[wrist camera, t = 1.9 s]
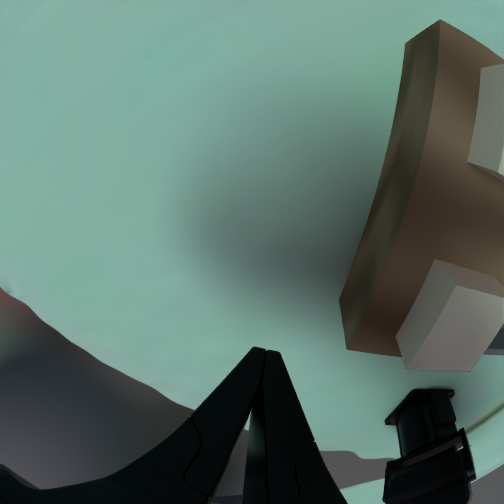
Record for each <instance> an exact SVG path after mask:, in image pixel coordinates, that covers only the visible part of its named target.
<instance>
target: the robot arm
mask: <svg viewBox="0 0 504 504" xmlns="http://www.w3.org/2000/svg"><path fill="white" fill-rule="evenodd" d="M454 395H455V392H454V390H414V391H412V392H411V393H410V394H409V395H408V396H407V397H406V398H405V400H404V401H403V402H402V403H401V404H400V405H399V406H398V407H397V409H396V410H395V411H394V412H393V413H392V414H391V415H390V416H389V417H388V418H387V419H386V420H385V425H396V428H397V434H398V440H399V447H400V454H401V458H398V459H396V460H393V461H392V460H391V461H388V462H387V467H386V470H385V483H384V493H383V498H382V500H383V502H384V503H385V504H469V503H470V501H471V499H472V490H471V483H470V482H471V481H473V480H475V479H476V473H475V467H474V462H473V457H472V453H471V449H470V445H469V442H468V438H467V435H466V433H465V430H464V427H463V428H461V429H460V430H459V431H457V428H456V425H455V422H456V416H455V413H454V410H453V407H452V404H451V401H450V399H451V398H452V397H453V396H454ZM250 412H251V415H250V425H249V435H248V445H247V455H246V465H245V476H244V485H243V494H242V503H241V504H348V503H347V502H346V500H345V498H344V497H343V495H342V493H341V492H340V490H339V488H338V487H337V485H336V483H335V482H334V480H333V478H332V476H331V474H330V473H329V471H328V469H327V467H326V465H325V463H324V461H323V458H322V456H321V454H320V452H319V449H318V447H317V444H316V442H314V440H315V439H314V437H313V434H312V432H311V429H310V427H309V424H308V422H307V419H306V417H305V414H304V412H303V409H302V407H301V404H300V402H299V399H298V397H297V394H296V392H295V389H294V387H293V384H292V382H291V379H290V376H289V374H288V371H287V369H286V366H285V364H284V361H283V359H282V356H281V354H280V352H278V351H273V350H267V351H266V349H264V348H259V347H252V348H251V350H250V351H249V352H248V353H247V354H246V355H245V356H244V358H243V359H242V360H241V361H240V362H239V363H238V364H237V365H236V367H235V368H234V369H233V370H232V371H231V372H230V373H229V374H228V375H227V377H226V378H225V379H224V380H223V381H222V382H221V383H220V384H219V385H218V386H217V387H216V389H215V390H214V391H213V392H212V393H211V394H210V395H209V396H208V397H207V398H206V399H205V400H204V401H203V402H202V403H201V405H200V406H199V407H198V408H197V409H196V410H195V411H194V412H193V413H192V414H191V415H190V416H189V417H188V418H187V419H186V420H185V421H184V422H183V423H182V424H181V425H180V426H179V427H178V428H177V429H176V430H175V431H173V432H172V433H171V434H170V435H169V436H168V437H166V438H165V439H164V440H163V441H161V442H160V443H159V444H158V445H156V446H155V447H153V448H152V449H150V450H149V451H148V452H146V453H145V454H143V455H142V456H140V457H139V458H137V459H136V460H134V461H133V462H131V463H130V464H128V465H127V466H125V467H124V468H122V469H121V470H118V471H117V472H115V473H113V474H110V475H108V476H106V477H103V478H100V479H96V480H91V481H87V482H83V483H79V484H74V485H69V486H63V487H57V488H52V489H39V488H38V487H36V486H34V485H33V484H31V483H30V482H28V481H27V480H25V479H23V478H22V477H21V476H19V475H17V474H16V473H15V472H13V471H12V470H11V469H9V468H8V467H6V466H4V465H2V464H0V504H211V503H212V501H213V499H214V496H215V494H216V492H217V490H218V488H219V486H220V483H221V481H222V479H223V477H224V474H225V472H226V470H227V468H228V465H229V463H230V461H231V458H232V456H233V454H234V451H235V449H236V447H237V444H238V442H239V439H240V437H241V435H242V432H243V430H244V427H245V425H246V422H247V420H248V417H249V414H250ZM462 446H463V449H461V450H459V451H458V450H457V449H459V448H461V447H462Z"/></svg>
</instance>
